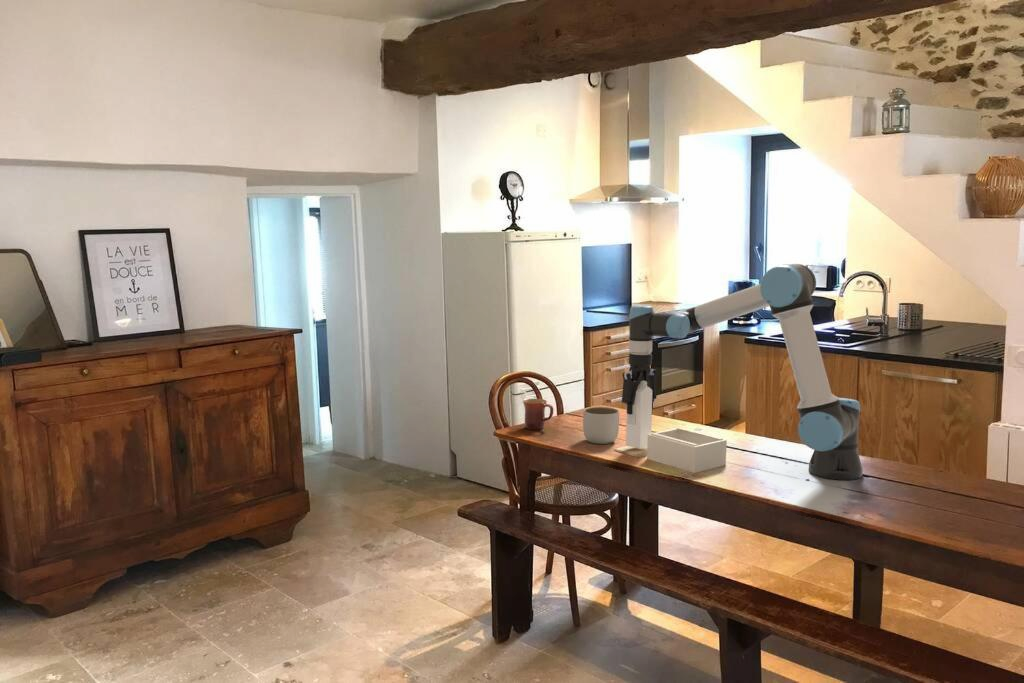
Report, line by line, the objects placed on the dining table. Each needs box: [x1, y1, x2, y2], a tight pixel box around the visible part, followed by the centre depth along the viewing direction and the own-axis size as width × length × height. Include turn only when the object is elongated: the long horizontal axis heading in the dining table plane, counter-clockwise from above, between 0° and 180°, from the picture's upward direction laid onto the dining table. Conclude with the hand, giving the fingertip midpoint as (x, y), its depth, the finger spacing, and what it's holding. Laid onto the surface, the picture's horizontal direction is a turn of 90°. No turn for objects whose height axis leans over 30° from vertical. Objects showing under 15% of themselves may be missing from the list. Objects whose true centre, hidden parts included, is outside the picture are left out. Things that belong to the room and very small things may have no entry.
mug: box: [522, 398, 554, 431], centre depth 304 cm, size 12×9×10 cm
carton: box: [646, 427, 728, 474], centre depth 261 cm, size 20×15×8 cm
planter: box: [582, 406, 620, 445], centre depth 286 cm, size 12×12×11 cm
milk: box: [625, 381, 653, 449], centre depth 272 cm, size 6×6×22 cm
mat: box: [614, 445, 647, 459], centre depth 274 cm, size 11×11×1 cm
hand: (638, 422), depth 273 cm, fingers closed on milk, 6 cm apart
